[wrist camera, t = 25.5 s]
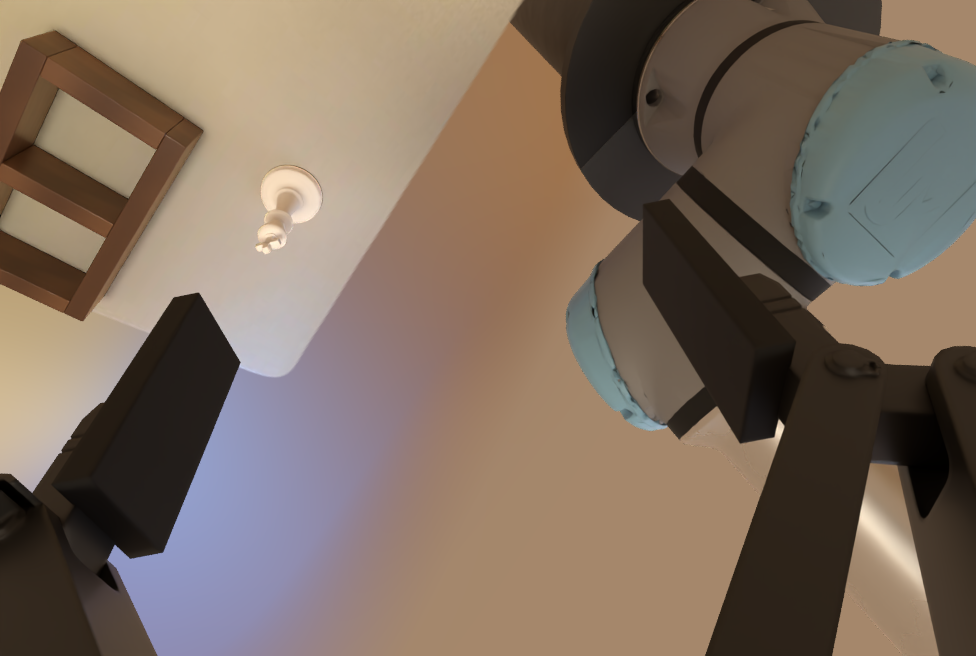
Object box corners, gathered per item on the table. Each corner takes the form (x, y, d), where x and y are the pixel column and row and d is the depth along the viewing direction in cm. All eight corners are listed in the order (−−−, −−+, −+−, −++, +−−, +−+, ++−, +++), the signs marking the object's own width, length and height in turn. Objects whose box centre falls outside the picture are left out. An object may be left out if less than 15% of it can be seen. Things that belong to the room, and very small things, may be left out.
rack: (203, 130, 42) (186, 147, 39) (103, 296, 50) (82, 322, 47) (54, 29, 38) (20, 39, 34) (-32, 230, 45) (-66, 253, 42)
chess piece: (250, 175, 45) (213, 229, 37) (306, 157, 44) (282, 208, 36) (278, 227, 48) (250, 288, 40) (332, 211, 47) (314, 270, 39)
